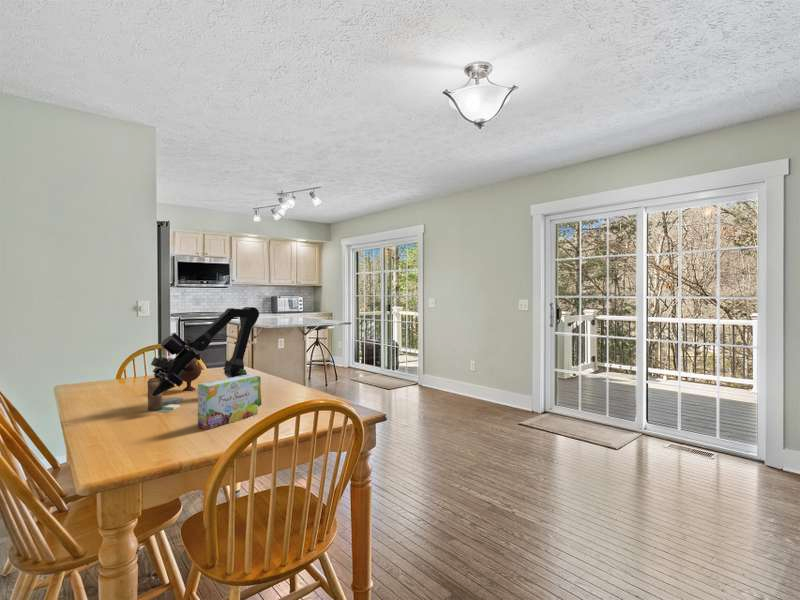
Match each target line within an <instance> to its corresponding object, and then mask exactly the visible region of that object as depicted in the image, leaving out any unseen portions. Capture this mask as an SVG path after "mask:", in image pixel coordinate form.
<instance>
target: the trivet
mask: <svg viewBox="0 0 800 600" xmlns="http://www.w3.org/2000/svg"><path fill="white" fill-rule="evenodd" d="M184 400H185V399H184V398H183V397H180V396H179V397H176V396H175V397H163V398H162V406H167V405H170V404H174V405H176V404H179V403H181V402H183V401H184Z"/></svg>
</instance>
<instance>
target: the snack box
mask: <svg viewBox="0 0 800 600" xmlns="http://www.w3.org/2000/svg"><path fill="white" fill-rule="evenodd" d="M258 376H259V375H257V374H250V373H247V375H242V376H237V377H232V378H228V377H227V378H222V379H219V380H212V381H208V382H203V383H198V384H197V428H200V429H203V430H206V431H208V430H211V429H214V428H217V427H221V426H224V425H228V424H233V423H234V422H238V421H242V420H245V419H248V417H249V418H251V416H252V417H255V416H257V414H259V405H258ZM254 415H255V416H254Z"/></svg>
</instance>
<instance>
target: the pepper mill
mask: <svg viewBox="0 0 800 600" xmlns="http://www.w3.org/2000/svg"><path fill="white" fill-rule="evenodd" d="M160 383H161V378H154V377H151V378H148V380H147V410H148V411H147V412H149V411H159V410H162V406H163V405H162V399H163V392H162V393H160V394H158V395H156V396H153V395H152V394H153V392H154V391H155V389H156V388H157V387H158V385H159V384H160Z"/></svg>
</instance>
